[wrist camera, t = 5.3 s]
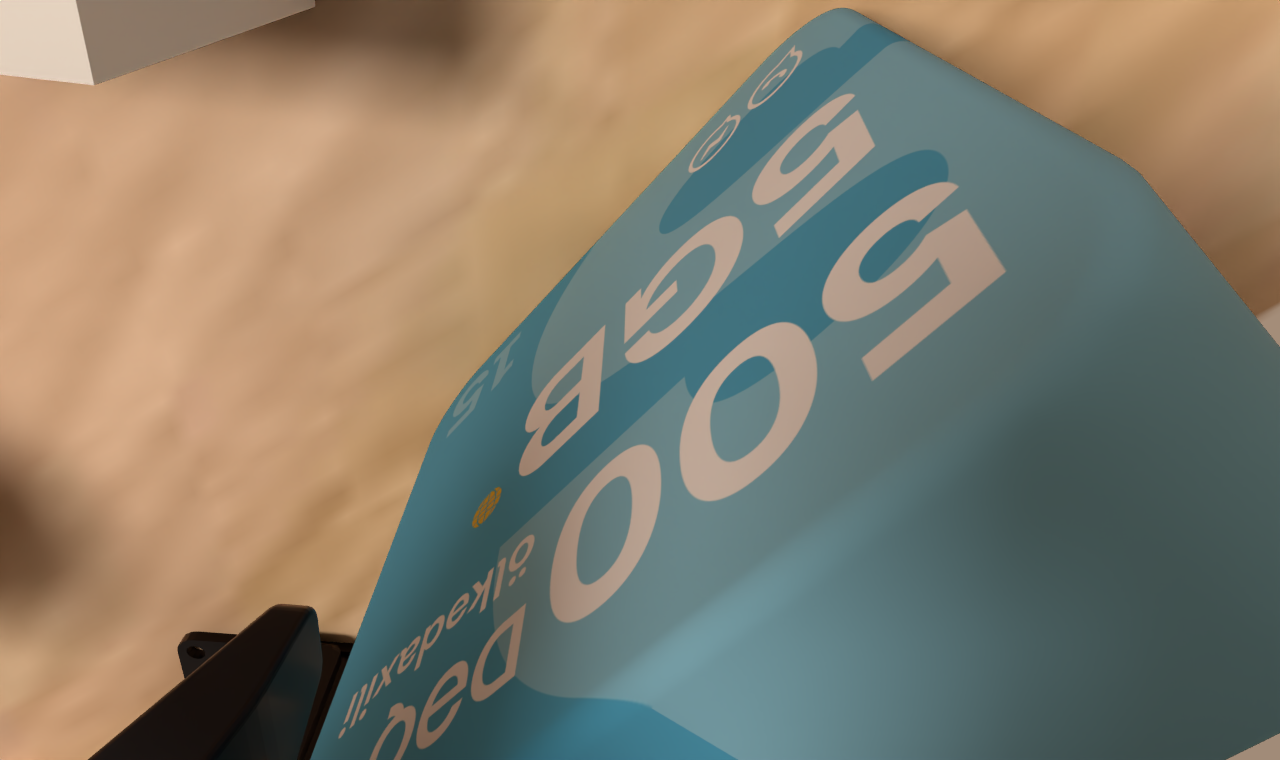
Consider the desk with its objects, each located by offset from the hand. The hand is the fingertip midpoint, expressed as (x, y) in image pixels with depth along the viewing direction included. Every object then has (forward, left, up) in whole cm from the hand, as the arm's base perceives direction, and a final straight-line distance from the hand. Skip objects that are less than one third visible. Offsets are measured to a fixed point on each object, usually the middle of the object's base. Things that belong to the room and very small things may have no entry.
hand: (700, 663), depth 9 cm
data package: (0, 0, -10) cm, 10 cm away
